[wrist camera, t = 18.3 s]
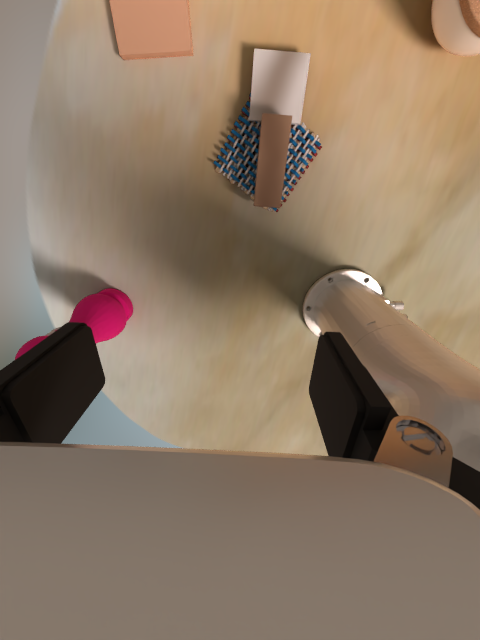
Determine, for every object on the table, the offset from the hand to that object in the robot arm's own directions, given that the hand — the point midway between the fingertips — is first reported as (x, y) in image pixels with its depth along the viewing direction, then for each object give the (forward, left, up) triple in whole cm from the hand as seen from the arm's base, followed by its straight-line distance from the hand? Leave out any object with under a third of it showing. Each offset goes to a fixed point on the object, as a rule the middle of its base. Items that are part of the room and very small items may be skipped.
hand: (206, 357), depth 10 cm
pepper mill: (+21, +11, -30) cm, 38 cm away
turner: (-5, -12, -29) cm, 31 cm away
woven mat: (-4, -10, -31) cm, 33 cm away
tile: (+8, -20, -30) cm, 37 cm away
